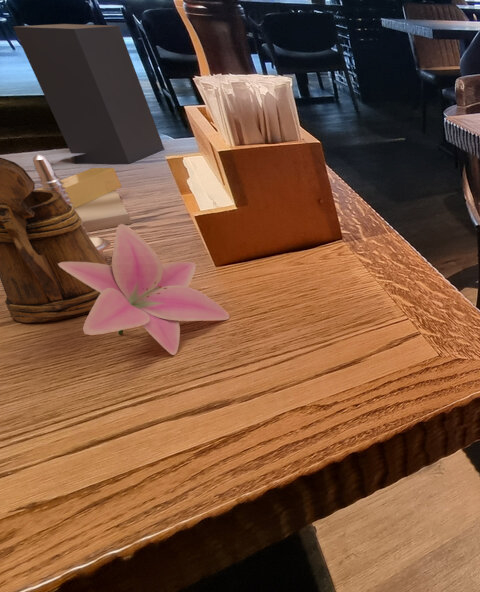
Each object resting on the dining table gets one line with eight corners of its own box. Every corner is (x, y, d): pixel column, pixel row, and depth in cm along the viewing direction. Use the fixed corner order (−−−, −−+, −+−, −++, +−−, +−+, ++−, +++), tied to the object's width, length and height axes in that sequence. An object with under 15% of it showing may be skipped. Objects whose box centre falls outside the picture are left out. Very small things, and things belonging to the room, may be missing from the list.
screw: (100, 251, 65) (126, 258, 64) (53, 266, 61) (79, 275, 60) (50, 146, 59) (77, 152, 57) (-6, 156, 55) (22, 162, 53)
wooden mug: (-12, 358, 46) (-147, 155, 37) (21, 293, 56) (-80, 120, 47) (118, 329, 51) (25, 142, 42) (128, 274, 60) (54, 113, 51)
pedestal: (129, 164, 97) (74, 28, 86) (75, 163, 96) (12, 26, 85) (164, 149, 106) (118, 25, 95) (115, 149, 105) (63, 23, 94)
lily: (84, 401, 43) (106, 313, 40) (14, 314, 46) (30, 224, 43) (233, 364, 54) (260, 292, 51) (169, 295, 57) (191, 222, 54)
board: (48, 204, 78) (44, 195, 77) (117, 194, 83) (113, 185, 82) (54, 237, 68) (49, 227, 67) (132, 223, 73) (128, 213, 72)
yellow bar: (20, 233, 65) (8, 211, 64) (-7, 234, 65) (-20, 211, 63) (122, 186, 82) (114, 167, 80) (100, 186, 81) (92, 167, 80)
